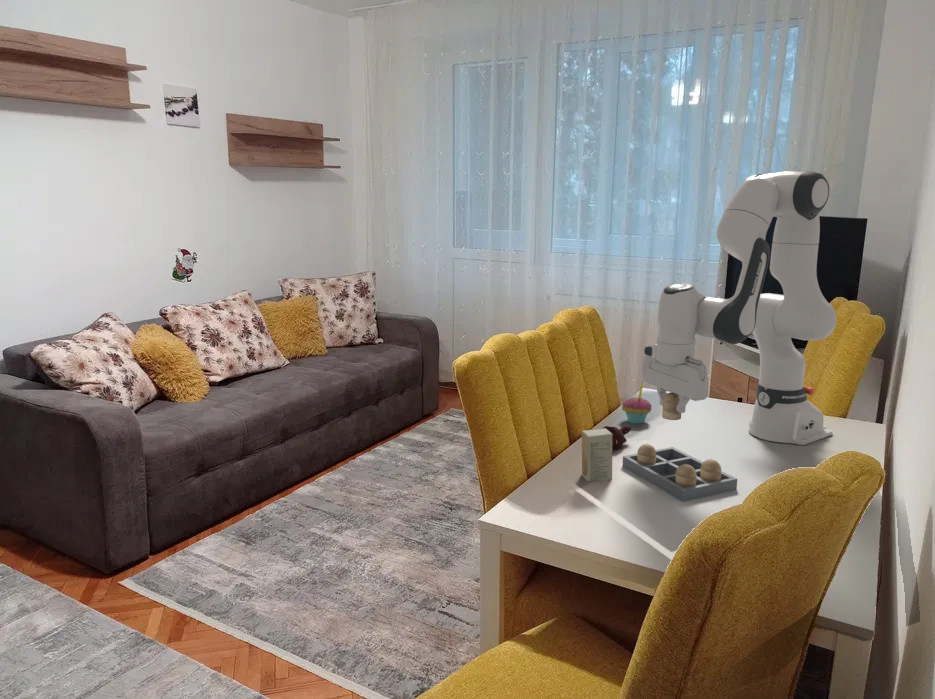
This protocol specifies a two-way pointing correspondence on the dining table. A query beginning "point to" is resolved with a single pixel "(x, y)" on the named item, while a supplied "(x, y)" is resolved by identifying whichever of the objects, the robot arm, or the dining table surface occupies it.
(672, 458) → the egg carton
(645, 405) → the cupcake
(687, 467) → the seated egg
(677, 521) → the dining table surface
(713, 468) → the seated egg
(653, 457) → the seated egg
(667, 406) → the wooden egg
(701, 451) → the dining table surface
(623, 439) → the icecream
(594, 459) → the skincare box
